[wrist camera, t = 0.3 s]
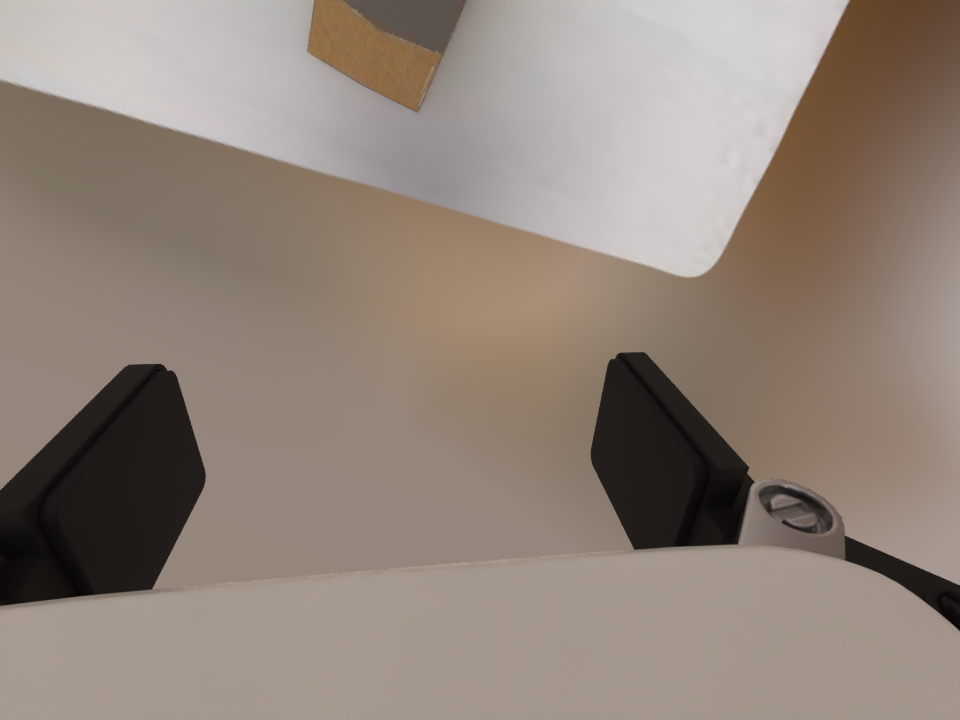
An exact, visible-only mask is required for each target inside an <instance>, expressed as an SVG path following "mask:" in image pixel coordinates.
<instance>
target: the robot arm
mask: <svg viewBox="0 0 960 720" xmlns="http://www.w3.org/2000/svg"><path fill="white" fill-rule="evenodd" d="M591 461H592V465H593V467H594V469H595V471H596V473H597V475H598V477H599V479H600V481H601V483H602V485H603V487H604V489H605V491H606V493H607V495H608V497H609V499H610V501H611V503H612V505H613V507H614V509H615V511H616V513H617V515H618V517H619V519H620V521H621V524H622V526H623V528H624V530H625V532H626V534H627V536H628V538H629V540H630V542H631V544H632V546H633V548H634V550H625V551H609V552H597V553H584V554H571V555H559V556H545V557H532V558H519V559H506V560H494V561H480V562H468V563H456V564H444V565H431V566H419V567H407V568H395V569H383V570H371V571H359V572H347V573H335V574H323V575H311V576H301V577H289V578H278V579H266V580H255V581H244V582H232V583H222V584H209V585H198V586H187V587H176V588H164V589H153V590H152V588H153V586H154V584H155V582H156V580H157V578H158V576H159V574H160V572H161V571H162V569H163V567H164V564H165V563H166V561H167V559H168V557H169V555H170V553H171V551H172V549H173V547H174V545H175V543H176V541H177V539H178V537H179V535H180V533H181V531H182V529H183V527H184V525H185V523H186V521H187V519H188V517H189V515H190V513H191V511H192V510H193V508H194V506H195V504H196V502H197V500H198V498H199V496H200V494H201V492H202V490H203V487H204V484H205V478H206V476H205V469H204V466H203V462H202V459H201V456H200V452H199V449H198V445H197V442H196V439H195V436H194V432H193V429H192V425H191V422H190V419H189V415H188V413H187V409H186V406H185V402H184V399H183V396H182V392H181V389H180V386H179V382H178V379H177V376H176V374H175V373H174V372H173V371H167V369H166V368H165V367H164V365H162V364H138V365H128V366H126V367H125V368H124V369H123V370H122V371H120V372H119V373H118V374H117V375H116V376H115V377H114V378H113V379H112V381H110V382H109V383H108V385H106V386H105V387H104V388H103V389H102V390H101V391H100V392H99V393H98V394H97V395H96V396H95V397H94V398H93V399H92V400H91V401H90V402H89V403H88V404H87V405H86V406H85V407H84V408H83V409H82V410H81V411H80V412H79V413H78V414H77V415H76V416H75V417H74V418H73V419H72V420H71V421H70V422H69V423H68V424H67V425H66V426H65V427H64V428H63V429H62V430H61V431H60V432H59V433H58V434H57V435H56V436H55V437H54V438H53V439H52V440H51V441H50V442H49V443H48V444H47V445H46V446H45V447H44V448H43V449H42V450H41V451H40V452H39V453H38V454H37V455H36V456H35V457H34V458H33V459H32V460H31V461H30V462H29V463H27V464H26V465H25V467H24V468H22V469H21V470H20V471H19V472H18V473H17V474H16V475H15V476H14V478H12V479H11V480H10V481H9V482H8V483H7V484H6V485H5V486H4V487H3V488H2V489H1V490H0V720H960V585H957V584H955V583H953V582H950V581H948V580H946V579H944V578H941V577H939V576H936V575H934V574H932V573H930V572H927V571H925V570H923V569H920V568H918V567H916V566H913V565H911V564H909V563H907V562H904V561H902V560H900V559H897V558H895V557H893V556H890V555H888V554H886V553H884V552H881V551H879V550H877V549H874V548H872V547H870V546H867V545H865V544H863V543H860V542H858V541H856V540H854V539H851V538H849V537H847V536H845V533H844V532H845V531H844V524H843V521H842V517H841V516H840V514H839V513H838V512H837V510H836V509H835V507H834V506H832V505H831V504H830V503H829V502H828V501H827V500H826V499H825V498H823V497H822V496H820V495H818V494H817V493H815V492H814V491H812V490H810V489H808V488H806V487H804V486H801V485H799V484H797V483H793V482H790V481H786V480H781V479H763V480H759V481H757V482H754V481H753V480H752V479H751V477H749V475H748V474H747V472H748V469H749V467H748V466H747V465H746V463H745V462H744V461H743V460H742V459H741V458H740V457H739V456H738V455H737V453H736V452H735V451H734V450H733V449H732V448H731V447H730V446H729V445H728V444H727V442H726V441H725V440H724V439H723V438H722V437H721V436H720V435H719V434H718V432H717V431H716V430H715V429H714V428H713V427H712V426H711V425H710V424H709V423H708V421H707V420H706V419H705V418H704V417H703V416H702V415H701V414H700V413H699V412H698V411H697V409H696V408H695V407H694V406H693V405H692V404H691V403H690V402H689V400H687V398H686V397H685V396H684V395H683V394H682V393H681V392H680V391H679V389H678V388H677V387H676V386H675V385H674V384H673V383H672V382H671V381H670V379H669V378H668V377H667V376H666V375H665V374H664V373H663V372H662V371H661V370H660V369H659V367H658V366H657V365H656V364H655V363H654V362H653V361H652V360H651V359H650V358H649V356H648V355H647V354H646V353H644V352H631V353H619V354H618V355H617V356H616V358H615V359H611V360H610V361H609V363H608V366H607V372H606V377H605V382H604V387H603V392H602V397H601V402H600V407H599V412H598V417H597V422H596V427H595V432H594V437H593V442H592V448H591Z"/></svg>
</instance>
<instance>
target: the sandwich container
mask: <svg viewBox="0 0 960 720" xmlns="http://www.w3.org/2000/svg"><path fill="white" fill-rule="evenodd" d="M465 2H466V0H314V6H313V13H312V20H311V27H310V34H309V42H308V49H307V52H309V53H310V54H312V55H314V56H315V57H317V58H319V59H320V60H322V61H323V62H325V63H327V64H328V65H330V66H332V67H333V68H335V69H337V70H338V71H340V72H342V73H343V74H345V75H347V76H348V77H350V78H352V79H353V80H355V81H357V82H358V83H360V84H362V85H363V86H365V87H367V88H369V89H371V90H373V91H375V92H377V93H379V94H381V95H383V96H385V97H388V98H390V99H392V100H394V101H396V102H398V103H400V104H402V105H404V106H406V107H408V108H410V109H412V110H414V111H416V112H418V110H419V108H420V106H421V103H422V101H423V99H424V96H425V94H426V92H427V90H428V87H429V85H430V83H431V80H432V78H433V76H434V74H435V71H436V69H437V67H438V64H439V62H440V60H441V57H442V55H443V53H444V51H445V48H446V46H447V44H448V41H449V39H450V37H451V35H452V32H453V30H454V28H455V25H456V23H457V21H458V18H459V16H460V14H461V11H462V9H463V6H464V4H465Z"/></svg>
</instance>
